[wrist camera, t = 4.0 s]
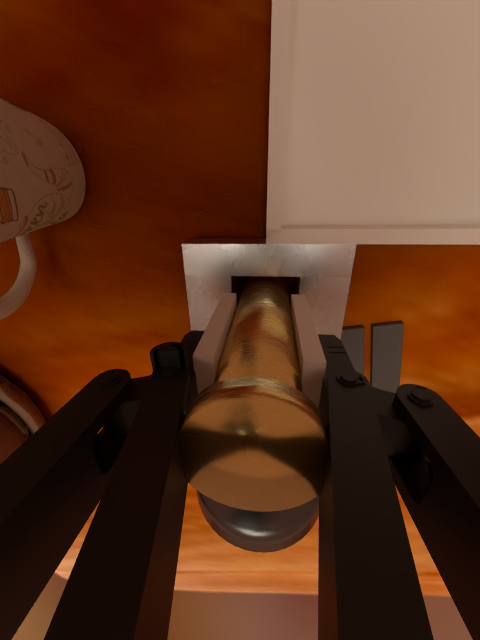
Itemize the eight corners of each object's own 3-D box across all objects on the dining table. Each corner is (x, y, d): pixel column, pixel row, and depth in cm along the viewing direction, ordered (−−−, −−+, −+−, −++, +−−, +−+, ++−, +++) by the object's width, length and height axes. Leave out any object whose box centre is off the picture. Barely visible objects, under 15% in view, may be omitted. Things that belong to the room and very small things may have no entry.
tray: (277, -180, 10) (279, -282, 8) (692, -251, 9) (833, -400, 7) (266, 237, 17) (265, 244, 15) (500, 237, 16) (537, 244, 14)
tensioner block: (192, 237, 18) (95, 291, 8) (345, 237, 17) (448, 299, 7) (208, 413, 25) (166, 558, 15) (317, 421, 24) (349, 583, 14)
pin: (234, 264, 18) (163, 397, 6) (296, 265, 17) (345, 410, 6) (236, 320, 20) (183, 503, 8) (292, 322, 19) (324, 518, 8)
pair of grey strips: (334, 328, 20) (335, 331, 19) (401, 320, 19) (403, 323, 18) (341, 483, 27) (342, 487, 27) (390, 483, 26) (392, 487, 26)
